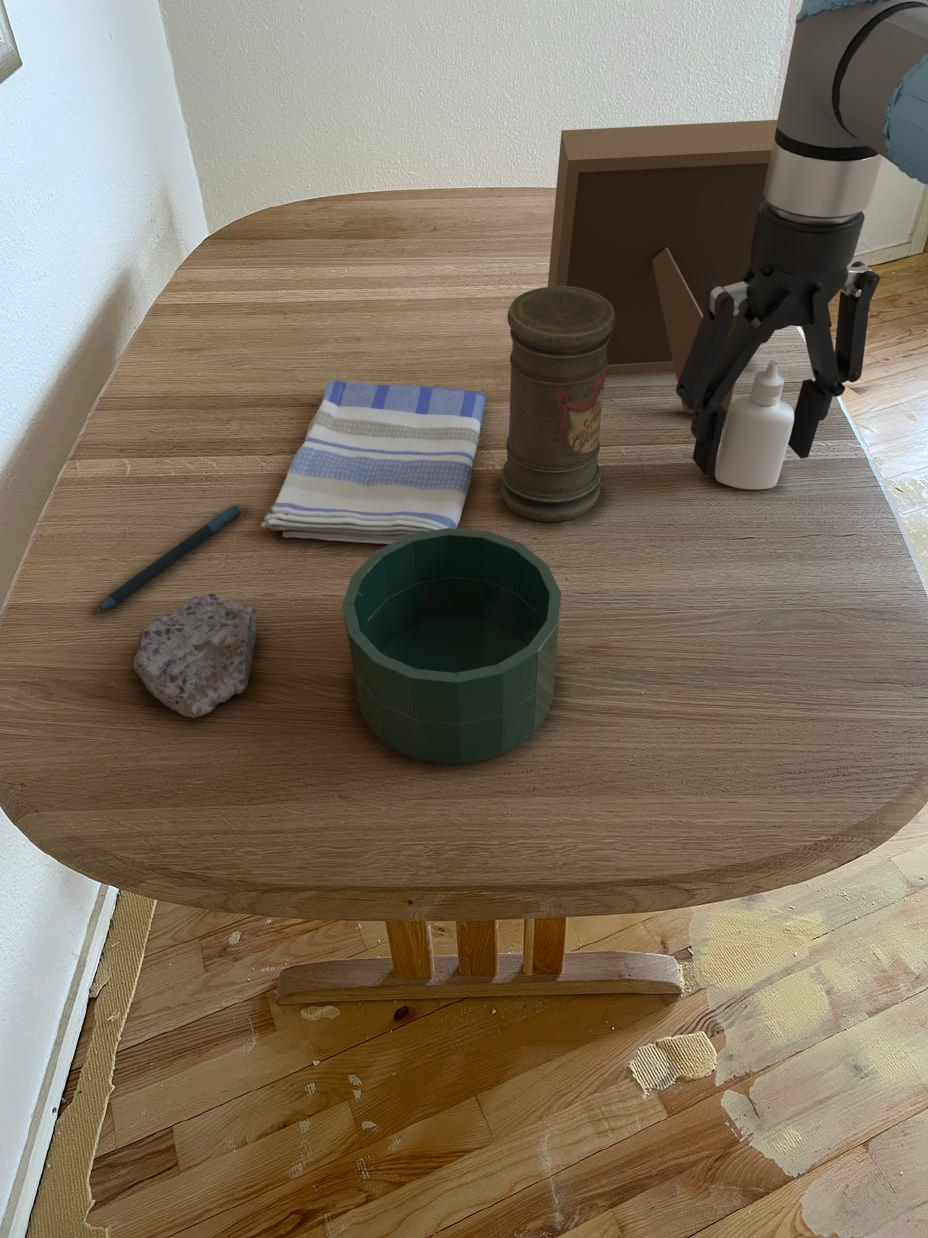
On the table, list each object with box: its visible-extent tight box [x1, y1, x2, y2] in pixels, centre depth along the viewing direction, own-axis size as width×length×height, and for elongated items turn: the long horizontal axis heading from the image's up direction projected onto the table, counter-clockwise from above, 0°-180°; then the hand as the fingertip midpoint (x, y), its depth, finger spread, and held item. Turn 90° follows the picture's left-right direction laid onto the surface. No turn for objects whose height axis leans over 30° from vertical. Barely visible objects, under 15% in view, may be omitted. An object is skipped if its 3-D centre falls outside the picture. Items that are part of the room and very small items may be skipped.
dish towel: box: [260, 380, 487, 545], centre depth 86 cm, size 17×24×3 cm
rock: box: [133, 593, 257, 719], centre depth 68 cm, size 9×11×4 cm
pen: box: [97, 505, 241, 612], centre depth 78 cm, size 1×16×1 cm, turn 144°
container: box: [500, 286, 615, 523], centre depth 77 cm, size 9×9×18 cm
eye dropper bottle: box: [714, 360, 795, 491], centre depth 80 cm, size 4×6×12 cm
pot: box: [341, 528, 562, 766], centre depth 65 cm, size 15×15×9 cm
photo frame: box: [547, 119, 778, 423], centre depth 87 cm, size 15×22×25 cm
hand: (750, 457), depth 83 cm, fingers open, 9 cm apart
